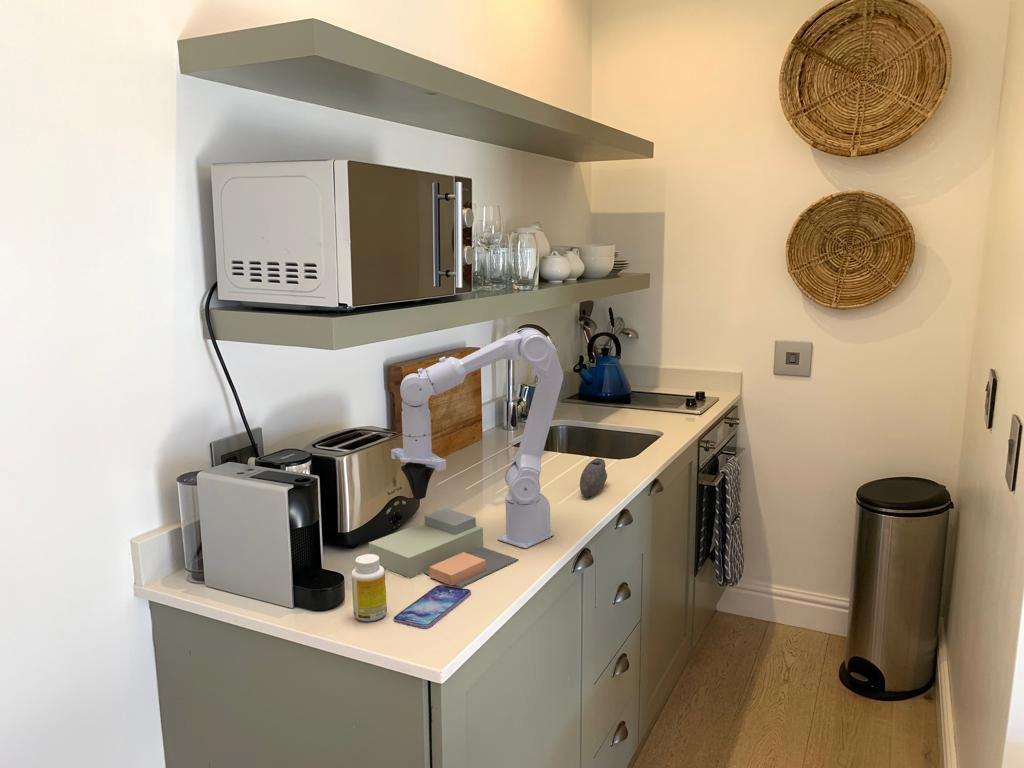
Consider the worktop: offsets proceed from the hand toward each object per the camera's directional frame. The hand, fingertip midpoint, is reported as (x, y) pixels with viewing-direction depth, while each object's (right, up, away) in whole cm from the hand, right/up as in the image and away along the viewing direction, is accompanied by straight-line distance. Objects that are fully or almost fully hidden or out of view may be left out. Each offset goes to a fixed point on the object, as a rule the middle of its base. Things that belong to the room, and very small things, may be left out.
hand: (419, 498), depth 163 cm
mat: (+11, -12, -9) cm, 19 cm away
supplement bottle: (-5, -16, -27) cm, 32 cm away
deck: (+2, -11, -2) cm, 11 cm away
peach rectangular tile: (+9, -11, -13) cm, 19 cm away
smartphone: (+5, -16, -25) cm, 30 cm away
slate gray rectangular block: (+6, -6, +2) cm, 9 cm away
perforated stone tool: (+39, -4, +34) cm, 52 cm away
